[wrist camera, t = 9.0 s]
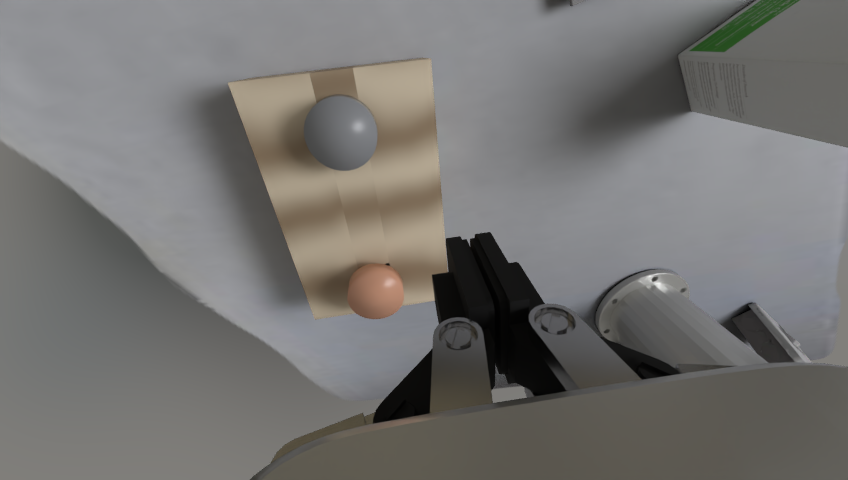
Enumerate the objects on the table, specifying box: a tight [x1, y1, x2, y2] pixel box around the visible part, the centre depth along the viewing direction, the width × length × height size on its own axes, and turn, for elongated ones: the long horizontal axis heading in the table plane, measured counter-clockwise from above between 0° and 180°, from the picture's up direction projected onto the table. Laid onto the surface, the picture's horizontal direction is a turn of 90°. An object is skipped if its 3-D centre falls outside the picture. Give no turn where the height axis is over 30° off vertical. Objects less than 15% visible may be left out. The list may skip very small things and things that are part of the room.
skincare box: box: [678, 0, 848, 147], centre depth 23 cm, size 8×7×16 cm
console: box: [228, 58, 447, 319], centre depth 30 cm, size 22×14×5 cm, turn 6°
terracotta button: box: [347, 263, 404, 319], centre depth 32 cm, size 5×5×6 cm
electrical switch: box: [732, 303, 812, 363], centre depth 47 cm, size 9×5×9 cm, turn 54°
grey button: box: [304, 94, 377, 171], centre depth 25 cm, size 5×5×6 cm
